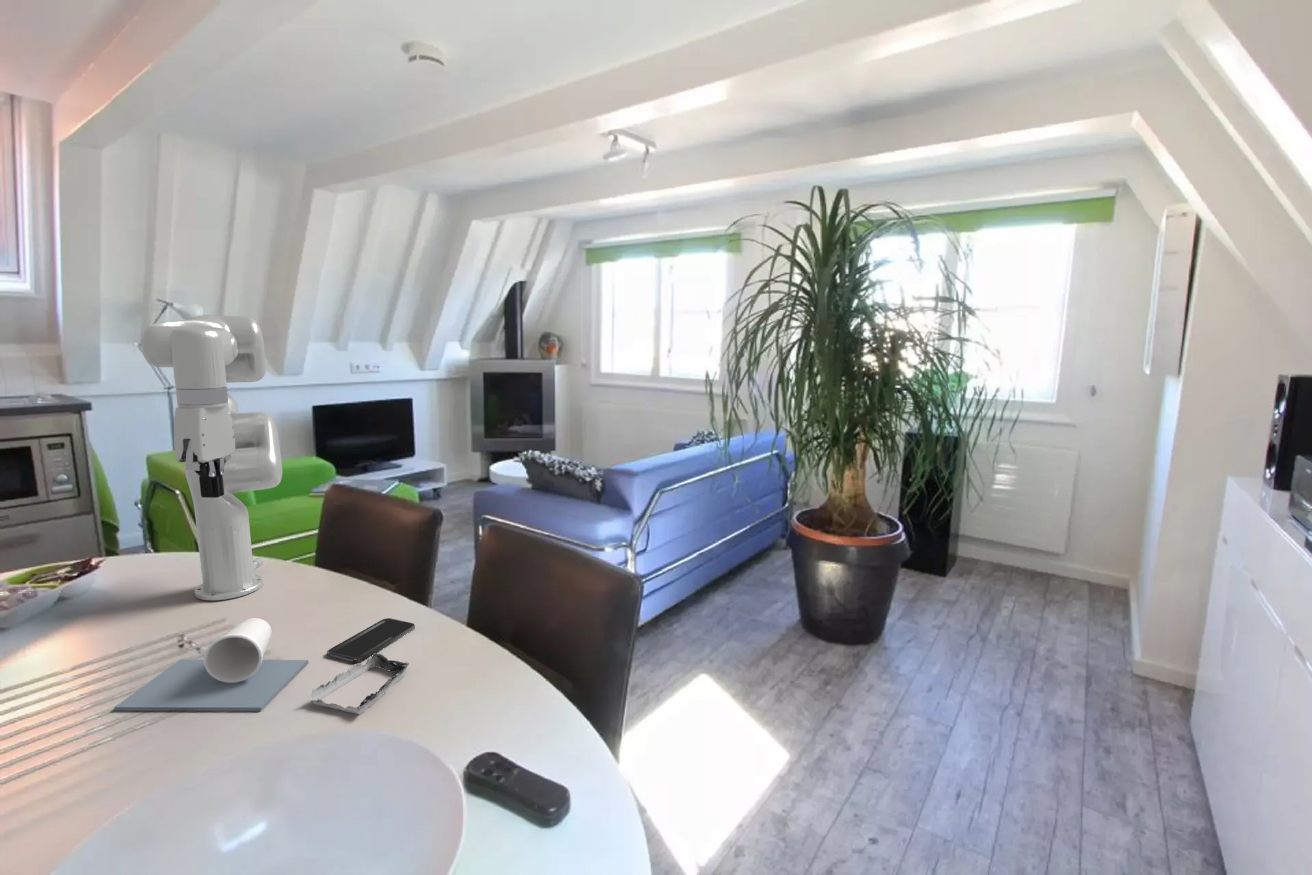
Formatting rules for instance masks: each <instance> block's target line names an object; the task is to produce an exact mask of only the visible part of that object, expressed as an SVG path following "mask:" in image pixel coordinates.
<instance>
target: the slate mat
mask: <svg viewBox="0 0 1312 875" xmlns="http://www.w3.org/2000/svg"><path fill="white" fill-rule="evenodd" d="M308 664H309V660H308V659H263V660H262V664H261V666H260V668H259V670H258V671H257V672H256V673H255V674H254V675H253V676H252V677H250V678H249V679H247V680H244V681H241V682H237V683H226V682H221V681H219V680H217V679H215V678H213V677H212V676H211V675H210V674H209V673H208V672H207V670H206V668H205V665H204V659H179V660H177V661H176V662H175V663H173V664H172V665H171V666H169V667H168V668H167V669H166V668H165V670H163V671H162V672H161V673H160V674H158V675H156V677H154V678H153V679H151V680H150V681H148V682H147V683H146V684H144V685H143V686H142V687H140V688H139V689H138V690H136V691H135V692H133V693H132V694H131V695H129V696H128V697H126V698H125V699H124V700H122V701H121V702H119V703H118V704H117V705H116V706H114V712H115V711H116V712H117V711H118V712H120V711H121V712H125V711H126V712H127V711H129V712H133V711H134V712H135V711H136V712H137V711H138V712H140V711H142V712H143V711H144V712H150V711H151V712H171V711H172V712H238V711H239V712H262V711H264V709H265V708H266V707H267V706H268V705H269V703H271V702H272V701H273V700H274V699H275V698H276V697H277V695H278V694H280V693H281V692H282V691H283V690H284V688H286V686H287V685H288V684H289V683H290V682H292V681H293V680H294V678H295V677H297V676H298V674H299V673H300V672H302V670H303V669H304V668H305V667H306V666H307V665H308ZM248 695H249V696H250V698H249V696H248Z"/></svg>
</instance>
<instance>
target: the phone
mask: <svg viewBox="0 0 1312 875" xmlns="http://www.w3.org/2000/svg"><path fill="white" fill-rule="evenodd" d="M415 626H416V625H415V623H413V622H410V621H409V622H408V621H404V620H400V619H395V618H392V617H391V618H388V617H387V618H383V619H381V620H379V621H377V622H375V623H374V624H372V625H371V626H368V627H366V628H365V629H364V630H362V631H360V632H357V633H356V634H354V635H353V636H350V637H349V638H347V639H345V640H344V641H342V642H340V643H338V644H337V645H335V646H332V648H331V647H330V648H329V649H327V651H326V656H327V658H329V659H333V660H338V661H340V662H341V661H342V662H345V663H350V664H352V665H355V664H357V663H358V664H360V663H361V664H362V663H363V662H365V661H366V660H368V659H370V658H371V657H372V655H373V654H374V653H377V652H378V653H379V652H381V651H382V650H384V649H386V648H387V647H390V644H391V645H392V644H394V643H396V642H397V641H399V640H400V639H402V638H403V636H404V635H405V636H407V635H408V634H410V633H411V631H412V632H413V631H415V630H416V628H415ZM407 633H408V634H407ZM406 634H407V635H406ZM405 636H404V637H405ZM398 639H399V640H398ZM383 648H384V649H383ZM370 656H371V657H370ZM369 657H370V658H369Z"/></svg>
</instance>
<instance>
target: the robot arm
mask: <svg viewBox="0 0 1312 875" xmlns="http://www.w3.org/2000/svg"><path fill="white" fill-rule="evenodd" d="M264 341H265V340H264V336H263V332H262V329H261V326H260V324H259V323H258V322H257V321H256V319H254V318H253V317H250V316H245V315H212V314H210V315H197V316H194V317H193V318H190V319H185V320H184V319H183V320H175V321H168V322H167V321H165V322H156V323H152V324H149V325H148V326H146V327H145V329H144V330H143V333H142V336H141V343H140V344H141V345H140V346H141V351H142V356H143V357H144V358H145V360H146V362H147V363H149V365H151V366H153V367H154V368H155V367H157V368H173V376H174V377H173V378H174V379H173V380H174V385H175V386H174V387H175V397H176V404H177V405H176V406H177V407H175V411H174V417H173V446H174V457H175V458H174V459H175V461H177V462H178V463H185V465H184V473H185V478H186V482H187V484H188V487H189V491H190V494H191V495H190V496H191V499H192V502H193V508H194V517H195V518H194V519H195V525H196V526H195V527H196V533H197V543H198V545H197V546H198V553H199V561H200V563H199V564H200V570H201V571H200V572H201V581H202V582H201V583H200V584H198V586H196V588H195V589H194V596H195V597H196V598H197V599H198V600H199V599H200V600H203V601H223V600H224V601H225V600H230V599H234V598H235V599H236V598H239V597H243V596H247V595H248V594H251V593H253V592H255V591H257V590H259V589H260V588H261V587H262V586H263V583H264V580H263V579H264V578H263V577H262V576H261V575H259V574H256V570H257V569H258V568H259V567H261V566H262V565H263V564H264V560H263V559H262V558H260V557H258V558H255V559H253V550H252V540H251V528H250V526H251V525H250V515H249V510H248V508H247V507H246V505H245V504H244V503H243V502H242V501H241V500H240V499H239V498H238V497H236V496H235V495H234V494H235V493H240V492H241V493H242V492H251V491H252V492H253V491H262V490H268V489H273V488H276V487H277V486H278V485H280V483H281V481H282V478H283V462H282V456H281V448H280V441H279V440H280V438H279V433H278V427H277V424H276V422H275V419H274V418H273V417H272V416H271V415H270V414H269V413H267V412H259V411H257V412H256V411H254V412H253V411H251V412H248V411H247V412H239V411H238V410H239V409H238V402H237V401H236V399H235V398H234V397H233V396H232V395H230V394H229V393H228V387H227V386H228V384H229V383H232V384H233V383H254V382H259V381H261V380H263V378H264V377H265V374H266V369H267V368H266V367H267V365H266V354H265V353H266V352H265V343H264Z"/></svg>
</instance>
